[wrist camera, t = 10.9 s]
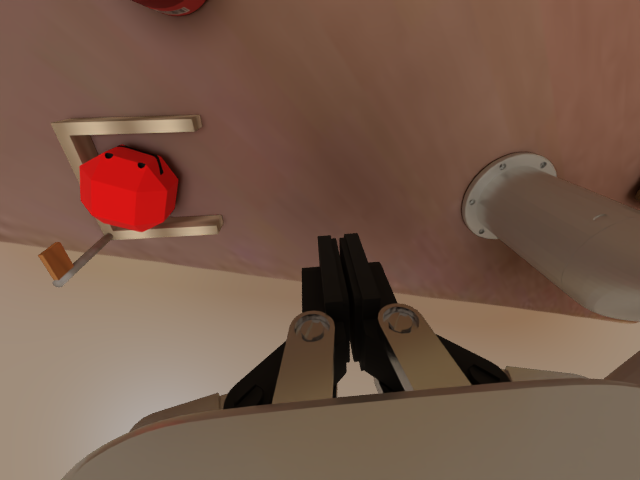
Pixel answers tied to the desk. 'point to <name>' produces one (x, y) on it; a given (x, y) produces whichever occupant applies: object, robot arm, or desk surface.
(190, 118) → the wooden u-shaped stand
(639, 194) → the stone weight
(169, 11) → the canned food
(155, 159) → the ball
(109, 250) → the desk surface
